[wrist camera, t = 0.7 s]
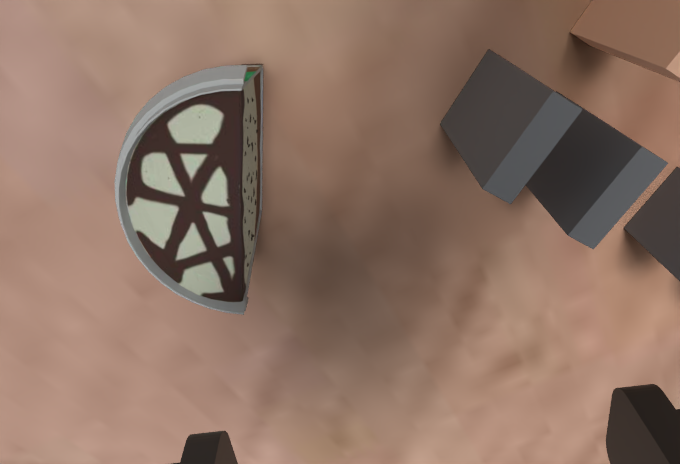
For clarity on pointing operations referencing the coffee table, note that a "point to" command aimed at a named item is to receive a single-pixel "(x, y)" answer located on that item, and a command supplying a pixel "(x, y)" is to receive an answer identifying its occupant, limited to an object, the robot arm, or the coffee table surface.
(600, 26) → the domino
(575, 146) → the domino
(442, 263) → the coffee table surface
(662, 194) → the domino
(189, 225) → the food container
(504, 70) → the domino
